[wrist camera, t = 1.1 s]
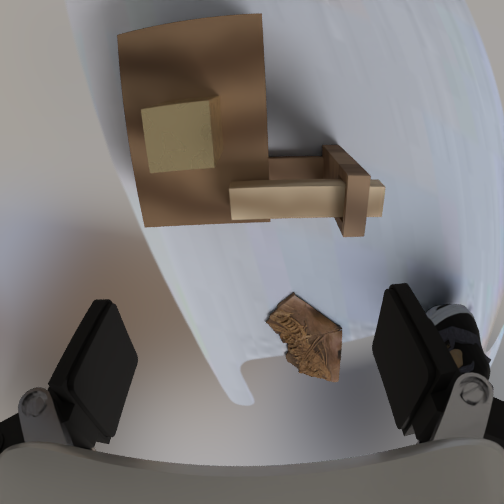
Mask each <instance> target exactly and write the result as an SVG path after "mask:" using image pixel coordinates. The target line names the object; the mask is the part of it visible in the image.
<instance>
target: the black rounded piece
mask: <svg viewBox="0 0 504 504" xmlns="http://www.w3.org/2000/svg"><path fill="white" fill-rule="evenodd" d="M426 315H427V317H428V318H430V319H431V320H432V322H433V323H434V325H435V327H436V328H437V330H438V332H439V334H440V335H441V337H442V339H443V341H444V342H445V344H446V346H447V348H448V350H449V352H450V353H451V355H452V357H453V359H454V361H455V363H456V365H457V367H458V369H459V370H460V372H461V374H462V375H463V374H465V373H477V374H480V375H482V376H484V377H485V378H486V379H487V380H489V376H490V366H489V363H490V361H491V359H490V358H488V357H487V356H486V355H485V354H484V352H483V349H482V346H481V342H480V335H479V330H478V327H477V325H476V322H475V319H474V316H473V314H472V313H471V312H470V311H469V310H468V309H467V308H466V307H465V306H463V305H461V304H446V305H439V306H435V307H433V308H431V309H430V310H428V311H427V313H426ZM490 384H491V383H490ZM491 386H492V385H491ZM492 389H493V386H492Z"/></svg>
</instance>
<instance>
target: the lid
mask: <svg viewBox="0 0 504 504" xmlns="http://www.w3.org/2000/svg"><path fill="white" fill-rule="evenodd" d="M117 39H118V54H119V66H120V77H121V86H122V95H123V104H124V112H125V119H126V127H127V134H128V140H129V147H130V153H131V159H132V165H133V170H134V176H135V181H136V187H137V192H138V197H139V202H140V207H141V212H142V216H143V221H144V226H145V227H161V226H180V225H201V224H224V223H251V222H270V219H245V220H232V217H231V205H230V194H229V187H230V183H231V181H250V180H269V160H268V132H267V108H266V85H265V65H264V45H263V27H262V13H261V14H240V15H227V16H216V17H207V18H199V19H192V20H185V21H179V22H173V23H168V24H162V25H157V26H152V27H148V28H143V29H139V30H135V31H131V32H127V33H123V34H119V35H117Z"/></svg>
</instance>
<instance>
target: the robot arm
mask: <svg viewBox="0 0 504 504" xmlns="http://www.w3.org/2000/svg"><path fill="white" fill-rule="evenodd" d="M372 351H373V355H374V357H375V361H376V363H377V366H378V369H379V372H380V375H381V378H382V381H383V384H384V387H385V390H386V393H387V396H388V400H389V403H390V406H391V409H392V413H393V416H394V419H395V422H396V425H397V428H398V429H402V431H403V434H404V436H407V435H411V434H415V435H416V438H417V440H418V442H417V444H416V445H411V446H406V447H402V448H398V449H393V450H388V451H384V452H378V453H373V454H368V455H362V456H356V457H350V458H344V459H337V460H329V461H321V462H312V463H301V464H288V465H271V466H210V465H192V464H179V463H169V462H159V461H151V460H144V459H137V458H131V457H125V456H119V455H113V454H108V453H103V452H98V451H96V449H95V447H94V446H95V443H96V442H101V443H106V444H109V442H110V439H111V437H113V436H114V435H115V433H116V430H117V427H118V423H119V419H120V417H121V413H122V410H123V407H124V403H125V400H126V397H127V394H128V391H129V387H130V385H131V381H132V378H133V375H134V372H135V369H136V366H137V363H138V357H137V353H136V351H135V349H134V347H133V344H132V342H131V340H130V338H129V335H128V333H127V331H126V328H125V326H124V323H123V321H122V318H121V316H120V313H119V311H118V309H117V306H116V305H115V304H113V303H112V301H111V300H108V299H105V300H94V301H93V303H92V305H91V306H90V308H89V309H88V311H87V313H86V314H85V316H84V318H83V320H82V321H81V323H80V325H79V327H78V329H77V330H76V332H75V334H74V335H73V337H72V339H71V341H70V343H69V344H68V346H67V348H66V350H65V352H64V354H63V356H62V358H61V359H60V362H59V363H58V365H57V367H56V369H55V371H54V373H53V375H52V377H51V379H50V381H49V383H48V385H49V388H48V390H46V389H45V388H41V387H36V388H33V389H30V390H29V391H27V392H26V393H25V394H24V395H23V396H22V397H21V399H20V401H19V405H18V413H17V414H15V415H13V416H12V417H10V418H8V419H6V420H4V421H2V422H0V504H504V401H501V400H499V399H497V398H494V397H493V389H492V386H491V384H490V382H489V381H488V380H487V379H486V378H485V377H484V376H482V375H480V374H477V373H465V374H463V375H462V374H461V372H460V370H459V369H458V367H457V365H456V363H455V361H454V359H453V357H452V355H451V353H450V352H449V350H448V348H447V346H446V344H445V342H444V341H443V339H442V337H441V335H440V334H439V332H438V330H437V328H436V327H435V325H434V323H433V322H432V320H431V319H430V318H428V317H427V315H426V313H425V311H424V310H423V308H422V306H421V305H420V303H419V302H418V300H417V298H416V297H415V295H414V293H413V292H412V290H411V289H410V287H409V285H408V284H407V283H402V284H392V285H390V287H389V289H386V290H385V292H384V297H383V301H382V306H381V311H380V315H379V319H378V324H377V328H376V332H375V336H374V340H373V345H372Z"/></svg>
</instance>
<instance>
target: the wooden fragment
mask: <svg viewBox="0 0 504 504" xmlns="http://www.w3.org/2000/svg"><path fill="white" fill-rule="evenodd" d="M266 323H268V324H269V326H270V327H271V328H272V329H273V330H274V331H275V332H276V333H277V334H279V335H280V338H281V339H282V342H283V343H288V352H287V354H286V359H287V361H288V362H290V363H291V364H292V365H294V366H295V367H297V368H298V369H299V373H304V374H306V375H309V376H311V377H317V378H323V379H326V380H327V381H332V382H338V380H339V369H340V360H341V347H342V330H341V331H338V330H340V329H342V328H341V327H339V326H337V325H336V324H335V323H333V322H332V321H330V320H329V319H328V318H326V317H325V316H324V315H322V314H321V313H319V312H318V311H317V310H315V309H314V308H313V307H311V306H310V305H309V304H307V303H306V302H304V301H303V300H301V299H299V298H298V297H297V296H295V294H294V293H292V294H291V295H290V296H289V297H287V298H286V299H285V300H283V301H281V302H280V303H279V304H278V306H277V309H276V310H275V311H274V312H272V313H271V314H270V318H269V319H268V320H267V321H266Z"/></svg>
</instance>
